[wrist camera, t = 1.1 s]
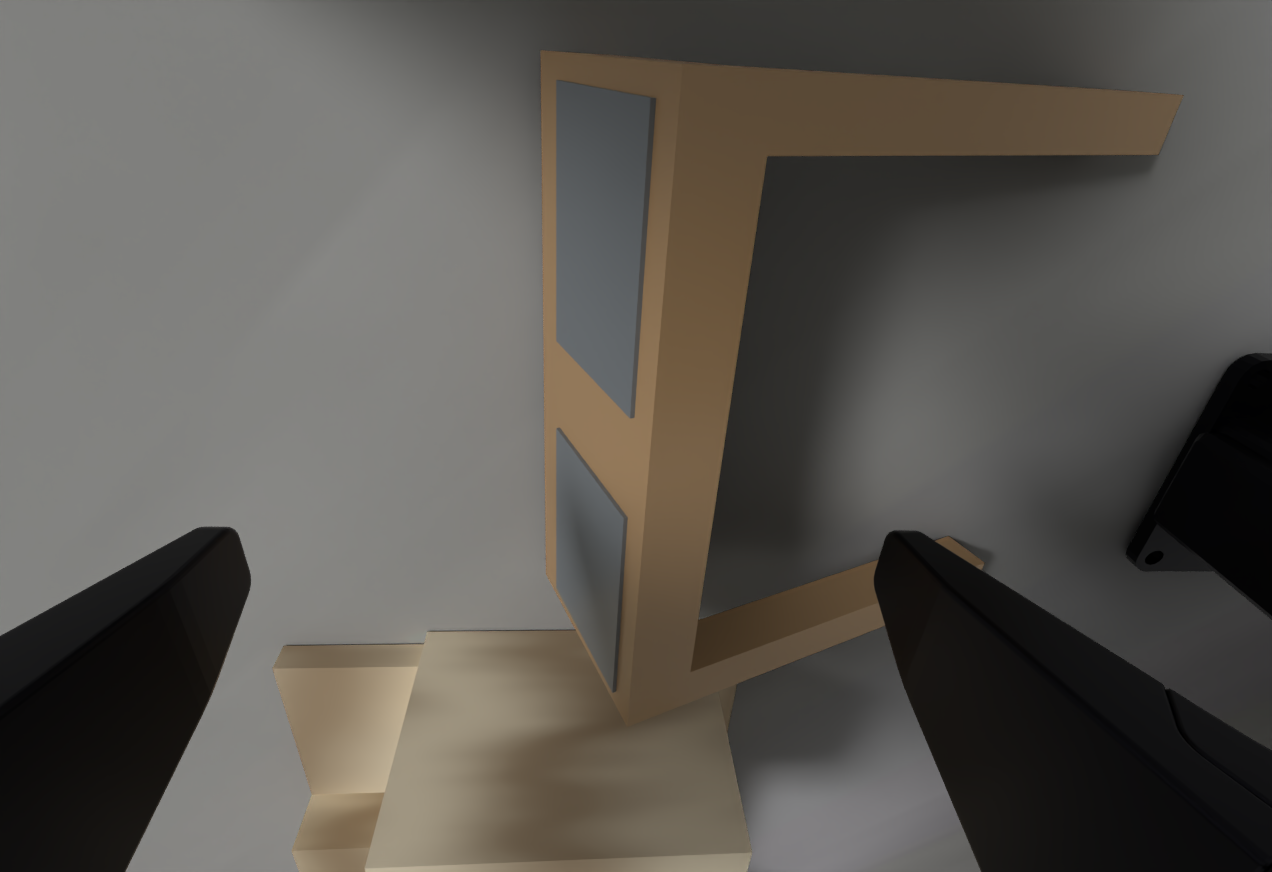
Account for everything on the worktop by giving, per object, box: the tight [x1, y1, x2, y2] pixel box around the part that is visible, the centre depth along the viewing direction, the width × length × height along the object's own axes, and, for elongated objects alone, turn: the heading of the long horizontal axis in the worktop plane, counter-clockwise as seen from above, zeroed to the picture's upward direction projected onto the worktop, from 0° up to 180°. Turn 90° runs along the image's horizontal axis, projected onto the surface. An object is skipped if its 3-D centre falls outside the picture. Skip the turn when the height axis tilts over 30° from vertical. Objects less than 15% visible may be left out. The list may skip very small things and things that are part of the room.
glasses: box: [541, 50, 1184, 727], centre depth 15 cm, size 10×12×5 cm
